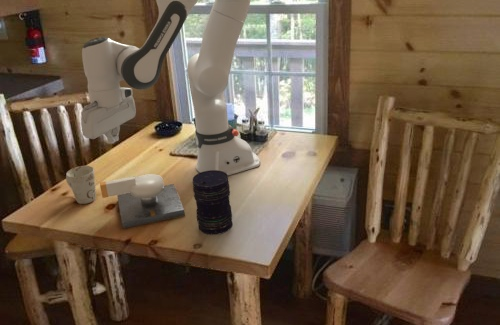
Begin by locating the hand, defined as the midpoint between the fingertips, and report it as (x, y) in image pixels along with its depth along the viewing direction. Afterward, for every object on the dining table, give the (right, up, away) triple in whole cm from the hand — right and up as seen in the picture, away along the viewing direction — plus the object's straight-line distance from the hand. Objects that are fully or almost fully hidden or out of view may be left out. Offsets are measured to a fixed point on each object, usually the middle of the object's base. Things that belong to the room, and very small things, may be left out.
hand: (113, 141), depth 147 cm
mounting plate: (+10, -20, +5) cm, 23 cm away
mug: (-14, -18, +14) cm, 27 cm away
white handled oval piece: (+6, -15, +2) cm, 16 cm away
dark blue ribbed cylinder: (+30, -24, -6) cm, 39 cm away
